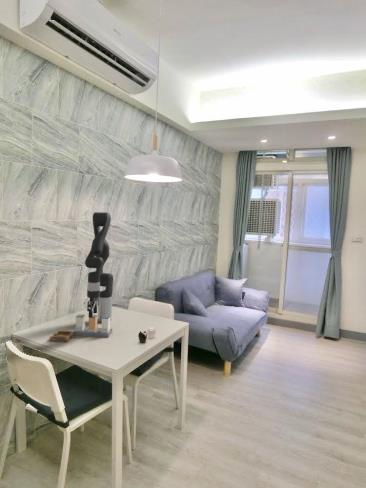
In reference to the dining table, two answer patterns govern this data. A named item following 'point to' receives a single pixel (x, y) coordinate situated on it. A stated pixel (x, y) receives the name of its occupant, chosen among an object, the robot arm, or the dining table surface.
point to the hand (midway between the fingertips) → (92, 315)
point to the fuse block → (85, 331)
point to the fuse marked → (93, 322)
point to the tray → (62, 336)
